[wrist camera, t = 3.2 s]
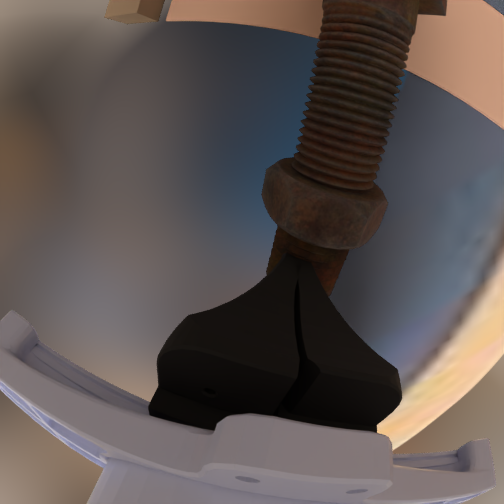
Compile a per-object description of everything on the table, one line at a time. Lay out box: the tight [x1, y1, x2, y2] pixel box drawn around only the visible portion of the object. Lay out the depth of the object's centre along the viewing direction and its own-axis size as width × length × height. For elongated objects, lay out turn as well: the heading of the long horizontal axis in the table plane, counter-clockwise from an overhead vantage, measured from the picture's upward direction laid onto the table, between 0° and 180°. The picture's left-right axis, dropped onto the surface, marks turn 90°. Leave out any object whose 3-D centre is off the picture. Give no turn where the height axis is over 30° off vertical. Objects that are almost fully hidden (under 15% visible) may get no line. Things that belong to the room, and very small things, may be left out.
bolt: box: [262, 0, 447, 297], centre depth 9 cm, size 6×5×15 cm
